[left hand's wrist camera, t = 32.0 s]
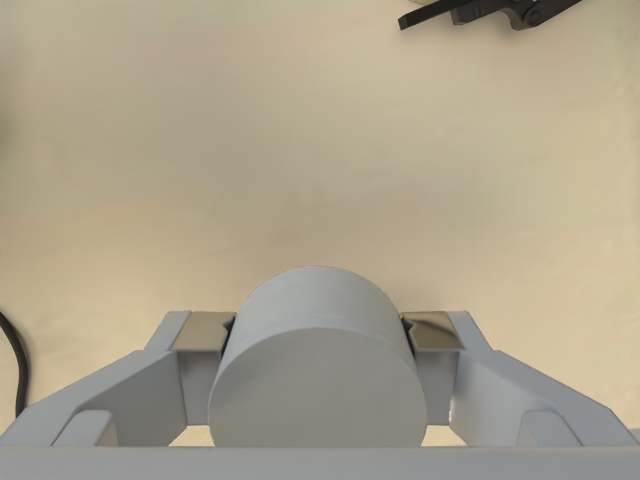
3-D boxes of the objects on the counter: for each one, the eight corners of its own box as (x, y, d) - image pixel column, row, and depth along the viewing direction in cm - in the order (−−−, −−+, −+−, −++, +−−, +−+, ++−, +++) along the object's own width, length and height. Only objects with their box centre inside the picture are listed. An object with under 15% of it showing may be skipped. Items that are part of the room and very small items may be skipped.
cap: (421, 278, 9) (453, 342, 7) (384, 419, 11) (401, 512, 8) (240, 252, 9) (215, 311, 7) (226, 400, 11) (201, 490, 8)
